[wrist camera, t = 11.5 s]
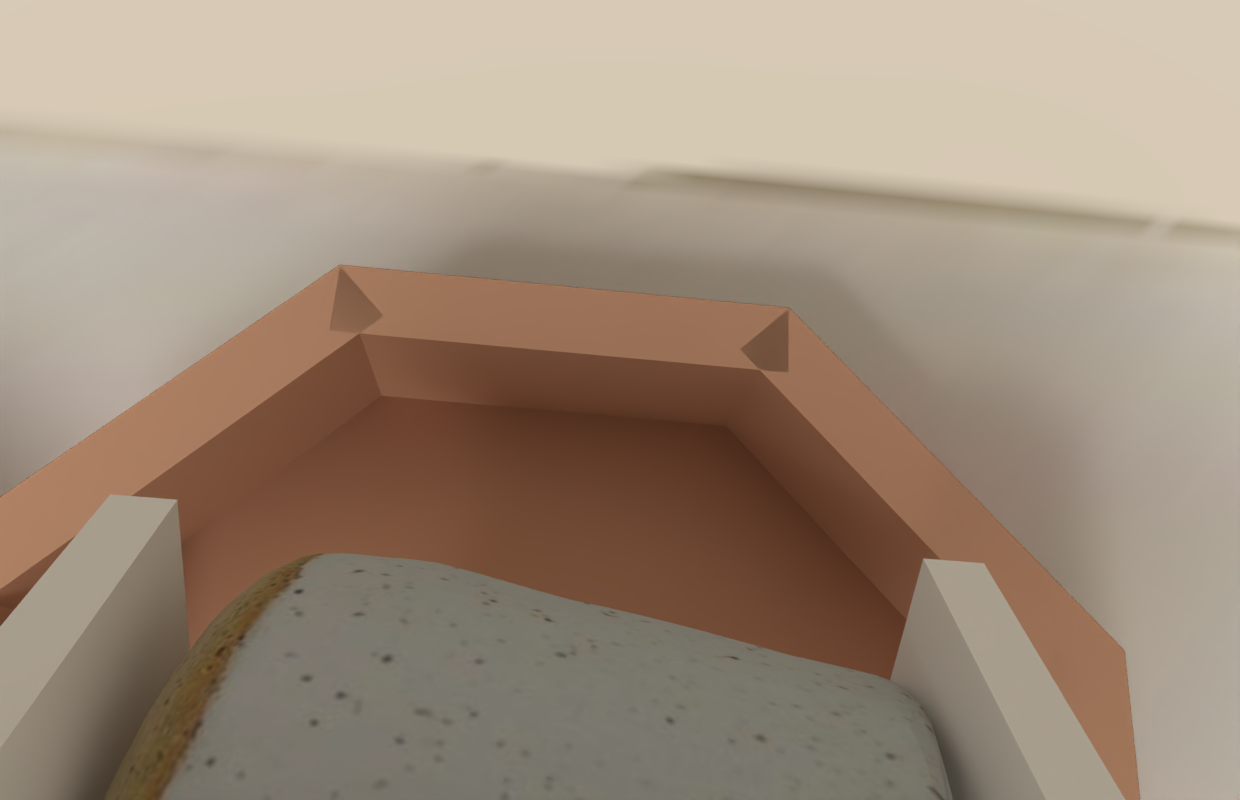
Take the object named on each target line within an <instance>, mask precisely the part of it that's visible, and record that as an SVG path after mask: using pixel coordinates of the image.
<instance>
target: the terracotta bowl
mask: <svg viewBox="0 0 1240 800" xmlns="http://www.w3.org/2000/svg"><path fill="white" fill-rule="evenodd" d="M110 494H112V495H125V496H137V497H150V498H163V499H175V500H177V501H178V513H179V525H180V537H181V549H182V560H183V572H184V584H185V596H186V608H187V620H188V632H189V643H190V649H191V648H192V646H193V645H194V644H195V642H196V641H197V640H198V638H199V637H200V636H201V634H202V633H203V632H204V630H205V629H206V628H207V627H208V625H209V624H210V623H211V622H212V621H213V620H214V619H215V618H216V617H217V615H218V614H219V613H220V612H221V611H222V610H223V609H224V608H225V607H226V606H227V605H228V604H229V603H230V602H232V601H233V600H234V599H235V598H236V597H238V596H239V595H240V594H241V593H243V592H244V591H245V590H246V589H247V588H249V587H250V586H251V585H252V584H254V583H255V582H256V581H257V580H258V579H260V578H261V577H262V576H263V575H265V574H267V573H269V572H271V571H273V570H276V569H278V568H280V567H282V566H284V565H286V564H288V563H290V562H292V561H294V560H297V559H299V558H301V557H304V556H309V555H314V554H319V553H348V554H360V555H370V556H380V557H391V558H402V559H414V560H421V561H428V562H435V563H440V564H444V565H448V566H452V567H456V568H460V569H464V570H468V571H471V572H475V573H478V574H482V575H485V576H489V577H493V578H496V579H500V580H503V581H507V582H510V583H514V584H517V585H521V586H524V587H528V588H531V589H535V590H538V591H542V592H545V593H549V594H552V595H556V596H559V597H563V598H566V599H570V600H574V601H579V602H584V603H589V604H593V605H598V606H603V607H608V608H612V609H616V610H620V611H625V612H629V613H633V614H638V615H642V616H646V617H650V618H654V619H658V620H662V621H666V622H670V623H674V624H678V625H682V626H685V627H689V628H693V629H697V630H701V631H705V632H709V633H712V634H715V635H719V636H723V637H726V638H730V639H734V640H737V641H741V642H745V643H748V644H752V645H756V646H759V647H763V648H767V649H770V650H774V651H777V652H781V653H784V654H788V655H792V656H796V657H801V658H805V659H810V660H814V661H819V662H823V663H827V664H832V665H836V666H841V667H845V668H849V669H853V670H857V671H861V672H865V673H869V674H873V675H877V676H880V677H882V678H885V679H888V680H890V679H891V675H892V671H893V668H894V664H895V660H896V657H897V653H898V649H899V646H900V642H901V638H902V635H903V631H904V627H905V624H906V620H907V616H908V613H909V609H910V605H911V602H912V598H913V594H914V591H915V587H916V583H917V580H918V576H919V573H920V569H921V565H922V562H923V558H924V559H937V560H949V561H962V562H974V563H984V564H985V566H986V568H987V569H988V571H989V573H990V574H991V576H992V578H993V579H994V581H995V583H996V584H997V586H998V588H999V589H1000V591H1001V593H1002V594H1003V596H1004V598H1005V599H1006V601H1007V603H1008V604H1009V606H1010V608H1011V609H1012V611H1013V613H1014V614H1015V616H1016V618H1017V619H1018V621H1019V623H1020V624H1021V626H1022V628H1023V629H1024V631H1025V633H1026V634H1027V636H1028V638H1029V639H1030V641H1031V643H1032V644H1033V646H1034V648H1035V649H1036V651H1037V653H1038V655H1039V656H1040V658H1041V660H1042V661H1043V663H1044V665H1045V666H1046V668H1047V670H1048V671H1049V673H1050V675H1051V676H1052V678H1053V680H1054V681H1055V683H1056V685H1057V686H1058V688H1059V690H1060V691H1061V693H1062V695H1063V696H1064V698H1065V700H1066V701H1067V703H1068V705H1069V706H1070V708H1071V710H1072V711H1073V713H1074V715H1075V716H1076V718H1077V720H1078V721H1079V723H1080V725H1081V726H1082V728H1083V730H1084V731H1085V733H1086V735H1087V736H1088V738H1089V740H1090V742H1091V743H1092V745H1093V747H1094V748H1095V750H1096V752H1097V753H1098V755H1099V757H1100V758H1101V760H1102V762H1103V763H1104V765H1105V767H1106V768H1107V770H1108V772H1109V773H1110V775H1111V777H1112V778H1113V780H1114V782H1115V783H1116V785H1117V787H1118V788H1119V790H1120V792H1121V793H1122V795H1123V797H1124V798H1125V800H1140V793H1139V783H1138V774H1137V764H1136V754H1135V745H1134V735H1133V726H1132V716H1131V706H1130V697H1129V687H1128V678H1127V668H1126V658H1125V651H1124V649H1123V648H1122V647H1121V646H1120V645H1119V644H1118V643H1117V642H1116V641H1115V640H1114V639H1113V638H1112V637H1111V636H1110V635H1109V634H1108V633H1107V632H1106V631H1105V630H1104V629H1103V628H1102V627H1101V626H1100V625H1099V624H1098V623H1097V622H1096V621H1095V620H1094V619H1093V618H1092V617H1091V616H1090V615H1089V614H1088V613H1087V612H1086V611H1085V610H1084V609H1083V607H1082V606H1081V605H1080V604H1079V603H1078V602H1077V601H1076V600H1075V599H1074V598H1073V597H1072V596H1071V595H1070V594H1069V593H1068V592H1067V591H1066V590H1065V589H1064V588H1063V587H1062V586H1061V585H1060V584H1059V583H1058V582H1057V581H1056V580H1055V579H1054V578H1053V577H1052V576H1051V575H1050V574H1049V573H1048V572H1047V571H1046V570H1045V569H1044V568H1043V567H1042V566H1041V565H1040V564H1039V562H1038V561H1037V560H1036V559H1035V558H1034V557H1033V556H1032V555H1031V554H1030V553H1029V552H1028V551H1027V550H1026V549H1025V548H1024V547H1023V546H1022V545H1021V544H1020V543H1019V542H1018V541H1017V540H1016V539H1015V538H1014V537H1013V536H1012V535H1011V534H1010V533H1009V532H1008V531H1007V530H1006V529H1005V528H1004V527H1003V526H1002V525H1001V524H1000V523H999V522H998V521H997V520H996V519H995V517H994V516H993V515H992V514H991V513H990V512H989V511H988V510H987V509H986V508H985V507H984V506H983V505H982V504H981V503H980V502H979V501H978V500H977V499H976V498H975V497H974V496H973V495H972V494H971V493H970V492H969V491H968V490H967V489H966V488H965V487H964V486H963V485H962V484H961V483H960V482H959V481H958V480H957V479H956V478H955V477H954V476H953V475H952V474H951V472H950V471H949V470H948V469H947V468H946V467H945V466H944V465H943V464H942V463H941V462H940V461H939V460H938V459H937V458H936V457H935V456H934V455H933V454H932V453H931V452H930V451H929V450H928V449H927V448H926V447H925V446H924V445H923V444H922V443H921V442H920V441H919V440H918V439H917V438H916V437H915V436H914V435H913V434H912V433H911V432H910V431H909V430H908V428H907V427H906V426H905V425H904V424H903V423H902V422H901V421H900V420H899V419H898V418H897V417H896V416H895V415H894V414H893V413H892V412H891V411H890V410H889V409H888V408H887V407H886V406H885V405H884V404H883V403H882V402H881V401H880V400H879V399H878V398H877V397H876V396H875V395H874V394H873V393H872V392H871V391H870V390H869V389H868V388H867V387H866V386H865V385H864V383H863V382H862V381H861V380H860V379H859V378H858V377H857V376H856V375H855V374H854V373H853V372H852V371H851V370H850V369H849V368H848V367H847V366H846V365H845V364H844V363H843V362H842V361H841V360H840V359H839V358H838V357H837V356H836V355H835V354H834V353H833V352H832V351H831V350H830V349H829V348H828V347H827V346H826V345H825V344H824V343H823V342H822V341H821V340H820V338H819V337H818V336H817V335H816V334H815V333H814V332H813V331H812V330H811V329H810V328H809V327H808V326H807V325H806V324H805V323H804V322H803V321H802V320H801V319H800V318H799V317H798V316H797V315H796V314H795V313H794V312H793V311H792V310H791V309H790V308H788V307H778V306H768V305H757V304H747V303H736V302H726V301H715V300H705V299H694V298H684V297H673V296H663V295H652V294H642V293H631V292H621V291H610V290H600V289H589V288H579V287H568V286H558V285H547V284H537V283H526V282H516V281H505V280H495V279H485V278H474V277H464V276H453V275H443V274H432V273H422V272H411V271H401V270H390V269H380V268H369V267H359V266H348V265H338V266H337V267H336V268H334V269H333V270H331V271H330V272H328V273H327V274H325V275H324V276H322V277H321V278H319V279H318V280H317V281H315V282H314V283H312V284H311V285H309V286H308V287H306V288H305V289H303V290H302V291H300V292H299V293H298V294H296V295H295V296H293V297H292V298H290V299H289V300H287V301H286V302H284V303H283V304H281V305H280V306H279V307H277V308H276V309H274V310H273V311H271V312H270V313H268V314H267V315H265V316H264V317H262V318H261V319H260V320H258V321H257V322H255V323H254V324H252V325H251V326H249V327H248V328H246V329H245V330H243V331H242V332H241V333H239V334H238V335H236V336H235V337H233V338H232V339H230V340H229V341H227V342H226V343H225V344H223V345H222V346H220V347H219V348H217V349H216V350H214V351H213V352H211V353H210V354H208V355H207V356H206V357H204V358H203V359H201V360H200V361H198V362H197V363H195V364H194V365H192V366H191V367H189V368H188V369H187V370H185V371H184V372H182V373H181V374H179V375H178V376H176V377H175V378H173V379H172V380H170V381H169V382H168V383H166V384H165V385H163V386H162V387H160V388H159V389H157V390H156V391H154V392H153V393H151V394H150V395H149V396H147V397H146V398H144V399H143V400H141V401H140V402H138V403H137V404H135V405H134V406H132V407H131V408H130V409H128V410H127V411H125V412H124V413H122V414H121V415H119V416H118V417H116V418H115V419H113V420H112V421H111V422H109V423H108V424H106V425H105V426H103V427H102V428H100V429H99V430H97V431H96V432H94V433H93V434H92V435H90V436H89V437H87V438H86V439H84V440H83V441H81V442H80V443H78V444H77V445H76V446H74V447H73V448H71V449H70V450H68V451H67V452H65V453H64V454H62V455H61V456H59V457H58V458H57V459H55V460H54V461H52V462H51V463H49V464H48V465H46V466H45V467H43V468H42V469H40V470H39V471H38V472H36V473H35V474H33V475H32V476H30V477H29V478H27V479H26V480H24V481H23V482H21V483H20V484H19V485H17V486H16V487H14V488H13V489H11V490H10V491H8V492H7V493H5V494H4V495H2V496H1V497H0V626H1V625H2V624H3V623H4V621H5V620H6V619H7V618H8V617H9V615H10V614H11V613H12V612H13V611H14V609H15V608H16V607H17V606H18V605H19V603H20V602H21V601H22V600H23V599H24V597H25V596H26V595H27V594H28V593H29V591H30V590H31V589H32V588H33V587H34V585H35V584H36V583H37V582H38V581H39V579H40V578H41V577H42V576H43V575H44V573H45V572H46V571H47V570H48V569H49V567H50V566H51V565H52V564H53V563H54V561H55V560H56V559H57V558H58V557H59V555H60V554H61V553H62V552H63V551H64V549H65V548H66V547H67V546H68V545H69V543H70V542H71V541H72V540H73V539H74V537H75V536H76V535H77V534H78V533H79V531H80V530H81V529H82V528H83V527H84V525H85V524H86V523H87V522H88V521H89V519H90V518H91V517H92V516H93V515H94V513H95V512H96V511H97V510H98V509H99V507H100V506H101V505H102V504H103V503H104V501H105V500H106V499H107V498H108V497H109V495H110Z"/></svg>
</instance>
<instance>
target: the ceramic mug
mask: <svg viewBox="0 0 1240 800" xmlns="http://www.w3.org/2000/svg"><path fill="white" fill-rule="evenodd" d="M104 800H953V798H952V792H951V789H950V785H949V782H948V778H947V774H946V771H945V767H944V764H943V760H942V757H941V753H940V749H939V745H938V742H937V739H936V736H935V733H934V730H933V727H932V723H931V721H930V719H929V718H928V716H927V714H926V713H925V711H924V709H923V708H922V706H921V705H920V703H919V702H918V701H917V700H916V699H915V697H913V696H912V695H911V694H910V693H909V692H907V691H906V690H904V689H903V688H901V687H900V686H898V685H897V684H895V683H893V682H892V681H890V680H888V679H885V678H882V677H880V676H877V675H873V674H869V673H865V672H861V671H857V670H853V669H849V668H845V667H841V666H836V665H832V664H827V663H823V662H819V661H814V660H810V659H805V658H801V657H796V656H792V655H788V654H784V653H781V652H777V651H774V650H770V649H767V648H763V647H759V646H756V645H752V644H748V643H745V642H741V641H737V640H734V639H730V638H726V637H723V636H719V635H715V634H712V633H709V632H705V631H701V630H697V629H693V628H689V627H685V626H682V625H678V624H674V623H670V622H666V621H662V620H658V619H654V618H650V617H646V616H642V615H638V614H633V613H629V612H625V611H620V610H616V609H612V608H608V607H603V606H598V605H593V604H589V603H584V602H579V601H574V600H570V599H566V598H563V597H559V596H556V595H552V594H549V593H545V592H542V591H538V590H535V589H531V588H528V587H524V586H521V585H517V584H514V583H510V582H507V581H503V580H500V579H496V578H493V577H489V576H485V575H482V574H478V573H475V572H471V571H468V570H464V569H460V568H456V567H452V566H448V565H444V564H440V563H435V562H428V561H421V560H414V559H402V558H391V557H380V556H370V555H360V554H348V553H319V554H314V555H309V556H304V557H301V558H299V559H297V560H294V561H292V562H290V563H288V564H286V565H284V566H282V567H280V568H278V569H276V570H273V571H271V572H269V573H267V574H265V575H263V576H262V577H261V578H260V579H258V580H257V581H256V582H255V583H254V584H252V585H251V586H250V587H249V588H247V589H246V590H245V591H244V592H243V593H241V594H240V595H239V596H238V597H236V598H235V599H234V600H233V601H232V602H230V603H229V604H228V605H227V606H226V607H225V608H224V609H223V610H222V611H221V612H220V613H219V614H218V615H217V617H216V618H215V619H214V620H213V621H212V622H211V623H210V624H209V625H208V627H207V628H206V629H205V630H204V632H203V633H202V634H201V636H200V637H199V638H198V640H197V641H196V642H195V644H194V645H193V646H192V648H191V649H190V650H189V652H188V653H187V654H186V656H185V657H184V658H183V660H182V661H181V662H180V664H179V665H178V666H177V668H176V669H175V670H174V672H173V673H172V675H171V677H170V678H169V680H168V681H167V683H166V684H165V686H164V688H163V689H162V691H161V692H160V694H159V696H158V697H157V699H156V700H155V702H154V703H153V705H152V707H151V708H150V710H149V711H148V713H147V715H146V717H145V719H144V720H143V722H142V724H141V726H140V728H139V730H138V732H137V734H136V736H135V737H134V739H133V741H132V743H131V745H130V747H129V749H128V751H127V753H126V755H125V756H124V758H123V760H122V762H121V764H120V766H119V768H118V770H117V772H116V773H115V776H114V778H113V780H112V782H111V784H110V786H109V789H108V791H107V793H106V795H105V797H104Z"/></svg>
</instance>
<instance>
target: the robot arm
mask: <svg viewBox="0 0 1240 800" xmlns="http://www.w3.org/2000/svg"><path fill="white" fill-rule="evenodd" d="M189 650H190V643H189V632H188V620H187V608H186V596H185V584H184V572H183V560H182V549H181V537H180V525H179V513H178V501H177V500H175V499H163V498H150V497H137V496H125V495H112V494H110V495H109V497H108V498H107V499H106V500H105V501H104V503H103V504H102V505H101V506H100V507H99V509H98V510H97V511H96V512H95V513H94V515H93V516H92V517H91V518H90V519H89V521H88V522H87V523H86V524H85V525H84V527H83V528H82V529H81V530H80V531H79V533H78V534H77V535H76V536H75V537H74V539H73V540H72V541H71V542H70V543H69V545H68V546H67V547H66V548H65V549H64V551H63V552H62V553H61V554H60V555H59V557H58V558H57V559H56V560H55V561H54V563H53V564H52V565H51V566H50V567H49V569H48V570H47V571H46V572H45V573H44V575H43V576H42V577H41V578H40V579H39V581H38V582H37V583H36V584H35V585H34V587H33V588H32V589H31V590H30V591H29V593H28V594H27V595H26V596H25V597H24V599H23V600H22V601H21V602H20V603H19V605H18V606H17V607H16V608H15V609H14V611H13V612H12V613H11V614H10V615H9V617H8V618H7V619H6V620H5V621H4V623H3V624H2V625H1V626H0V800H104V797H105V795H106V793H107V791H108V789H109V786H110V784H111V782H112V780H113V778H114V776H115V773H116V772H117V770H118V768H119V766H120V764H121V762H122V760H123V758H124V756H125V755H126V753H127V751H128V749H129V747H130V745H131V743H132V741H133V739H134V737H135V736H136V734H137V732H138V730H139V728H140V726H141V724H142V722H143V720H144V719H145V717H146V715H147V713H148V711H149V710H150V708H151V707H152V705H153V703H154V702H155V700H156V699H157V697H158V696H159V694H160V692H161V691H162V689H163V688H164V686H165V684H166V683H167V681H168V680H169V678H170V677H171V675H172V673H173V672H174V670H175V669H176V668H177V666H178V665H179V664H180V662H181V661H182V660H183V658H184V657H185V656H186V654H187V653H188V652H189ZM890 681H892V682H893V683H895V684H897V685H898V686H900V687H901V688H903V689H904V690H906V691H907V692H909V693H910V694H911V695H912V696H913V697H915V699H916V700H917V701H918V702H919V703H920V705H921V706H922V708H923V709H924V711H925V713H926V714H927V716H928V718H929V719H930V721H931V723H932V727H933V730H934V733H935V736H936V739H937V742H938V745H939V749H940V753H941V757H942V760H943V764H944V767H945V771H946V774H947V778H948V782H949V785H950V789H951V792H952V798H953V800H1125V798H1124V797H1123V795H1122V793H1121V792H1120V790H1119V788H1118V787H1117V785H1116V783H1115V782H1114V780H1113V778H1112V777H1111V775H1110V773H1109V772H1108V770H1107V768H1106V767H1105V765H1104V763H1103V762H1102V760H1101V758H1100V757H1099V755H1098V753H1097V752H1096V750H1095V748H1094V747H1093V745H1092V743H1091V742H1090V740H1089V738H1088V736H1087V735H1086V733H1085V731H1084V730H1083V728H1082V726H1081V725H1080V723H1079V721H1078V720H1077V718H1076V716H1075V715H1074V713H1073V711H1072V710H1071V708H1070V706H1069V705H1068V703H1067V701H1066V700H1065V698H1064V696H1063V695H1062V693H1061V691H1060V690H1059V688H1058V686H1057V685H1056V683H1055V681H1054V680H1053V678H1052V676H1051V675H1050V673H1049V671H1048V670H1047V668H1046V666H1045V665H1044V663H1043V661H1042V660H1041V658H1040V656H1039V655H1038V653H1037V651H1036V649H1035V648H1034V646H1033V644H1032V643H1031V641H1030V639H1029V638H1028V636H1027V634H1026V633H1025V631H1024V629H1023V628H1022V626H1021V624H1020V623H1019V621H1018V619H1017V618H1016V616H1015V614H1014V613H1013V611H1012V609H1011V608H1010V606H1009V604H1008V603H1007V601H1006V599H1005V598H1004V596H1003V594H1002V593H1001V591H1000V589H999V588H998V586H997V584H996V583H995V581H994V579H993V578H992V576H991V574H990V573H989V571H988V569H987V568H986V566H985V564H984V563H974V562H962V561H949V560H937V559H924V558H923V562H922V565H921V569H920V573H919V576H918V580H917V583H916V587H915V591H914V594H913V598H912V602H911V605H910V609H909V613H908V616H907V620H906V624H905V627H904V631H903V635H902V638H901V642H900V646H899V649H898V653H897V657H896V660H895V664H894V668H893V671H892V675H891V679H890Z"/></svg>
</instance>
